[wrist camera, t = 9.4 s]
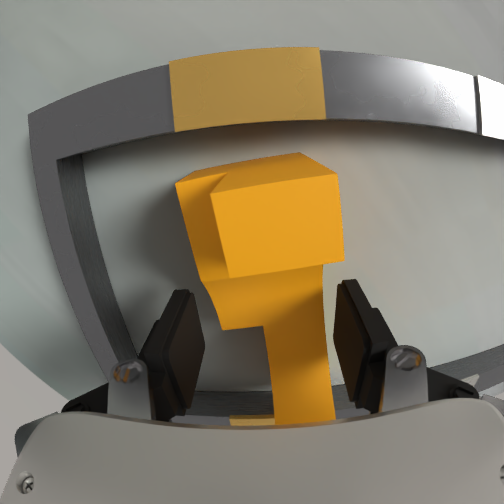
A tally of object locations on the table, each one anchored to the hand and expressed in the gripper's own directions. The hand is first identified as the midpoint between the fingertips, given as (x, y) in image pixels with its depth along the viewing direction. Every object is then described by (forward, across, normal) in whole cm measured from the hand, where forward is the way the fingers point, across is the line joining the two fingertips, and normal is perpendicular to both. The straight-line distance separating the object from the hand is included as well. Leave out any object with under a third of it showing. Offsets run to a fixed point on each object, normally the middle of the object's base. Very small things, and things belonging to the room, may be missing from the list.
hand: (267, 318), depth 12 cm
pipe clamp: (+3, 0, 0) cm, 3 cm away
